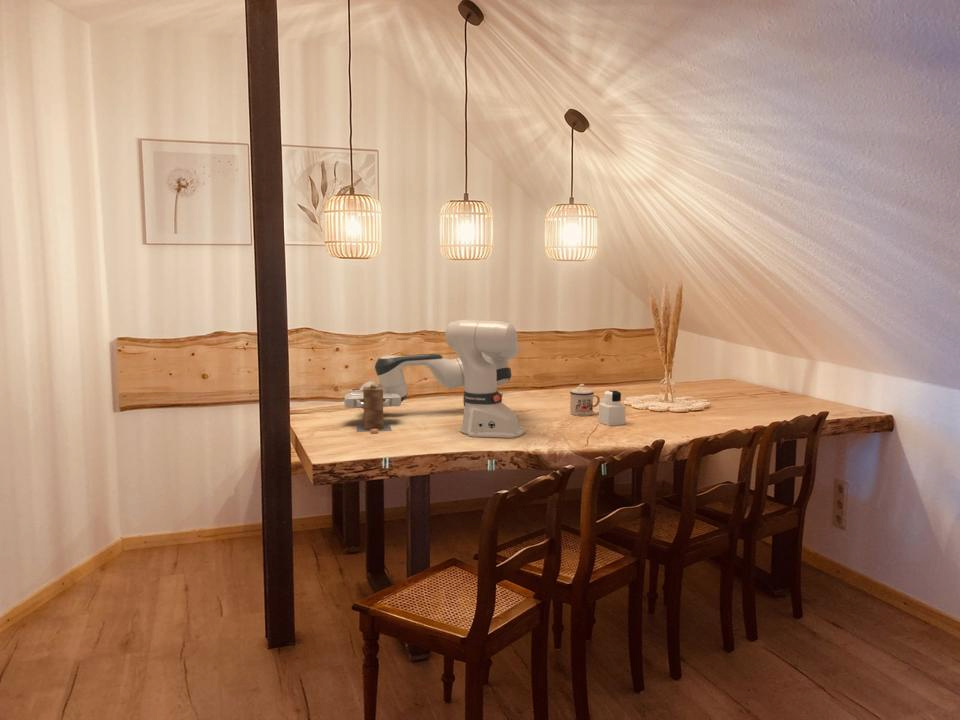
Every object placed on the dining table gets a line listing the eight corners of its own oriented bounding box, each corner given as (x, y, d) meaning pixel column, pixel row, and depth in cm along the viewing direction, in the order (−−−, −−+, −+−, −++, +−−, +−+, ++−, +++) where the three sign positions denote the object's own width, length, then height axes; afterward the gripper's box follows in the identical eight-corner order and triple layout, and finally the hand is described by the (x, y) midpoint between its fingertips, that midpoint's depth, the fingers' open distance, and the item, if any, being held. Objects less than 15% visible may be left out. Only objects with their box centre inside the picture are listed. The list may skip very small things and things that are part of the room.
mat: (389, 424, 296) (389, 423, 296) (391, 431, 284) (391, 430, 284) (356, 425, 294) (356, 424, 294) (356, 432, 282) (356, 431, 282)
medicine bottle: (615, 420, 303) (616, 389, 301) (625, 424, 296) (626, 392, 294) (598, 422, 300) (599, 390, 299) (608, 426, 294) (608, 393, 292)
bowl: (379, 433, 282) (379, 428, 282) (376, 435, 279) (376, 430, 279) (372, 432, 283) (372, 428, 282) (369, 434, 280) (369, 429, 280)
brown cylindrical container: (382, 424, 293) (381, 382, 291) (383, 428, 287) (382, 386, 284) (363, 425, 292) (363, 383, 290) (364, 429, 285) (363, 386, 283)
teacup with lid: (574, 416, 310) (575, 386, 308) (566, 412, 318) (566, 382, 317) (604, 415, 313) (604, 385, 311) (594, 410, 321) (595, 381, 320)
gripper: (400, 405, 303) (403, 412, 289) (344, 407, 299) (344, 414, 286) (400, 388, 302) (402, 395, 288) (344, 390, 298) (344, 397, 285)
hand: (373, 405), depth 287 cm, fingers closed on brown cylindrical container, 7 cm apart
